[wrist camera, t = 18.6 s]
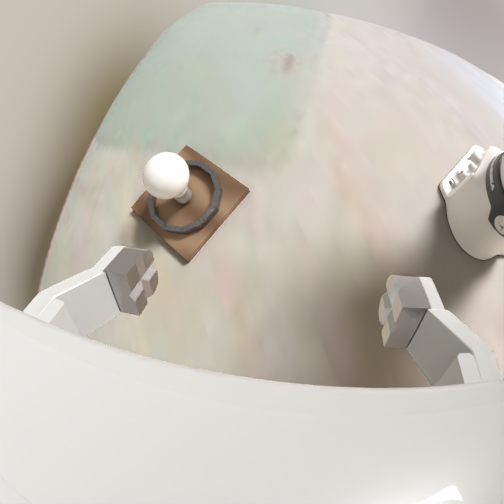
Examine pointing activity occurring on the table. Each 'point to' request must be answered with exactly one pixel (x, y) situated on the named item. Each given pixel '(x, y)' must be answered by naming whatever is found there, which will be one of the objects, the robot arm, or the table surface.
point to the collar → (206, 216)
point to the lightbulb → (167, 177)
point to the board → (193, 206)
